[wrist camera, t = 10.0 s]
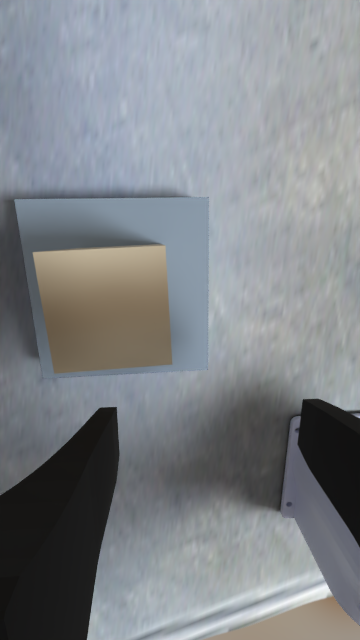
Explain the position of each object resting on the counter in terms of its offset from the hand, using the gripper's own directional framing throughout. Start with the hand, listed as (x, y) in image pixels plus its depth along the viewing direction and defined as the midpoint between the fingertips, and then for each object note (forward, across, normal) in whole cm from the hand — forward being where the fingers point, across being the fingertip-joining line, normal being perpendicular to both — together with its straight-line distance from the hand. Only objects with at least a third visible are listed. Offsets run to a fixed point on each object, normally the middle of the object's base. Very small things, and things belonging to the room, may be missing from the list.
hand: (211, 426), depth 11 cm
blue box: (+10, +4, -4) cm, 11 cm away
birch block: (+7, +4, -4) cm, 9 cm away
